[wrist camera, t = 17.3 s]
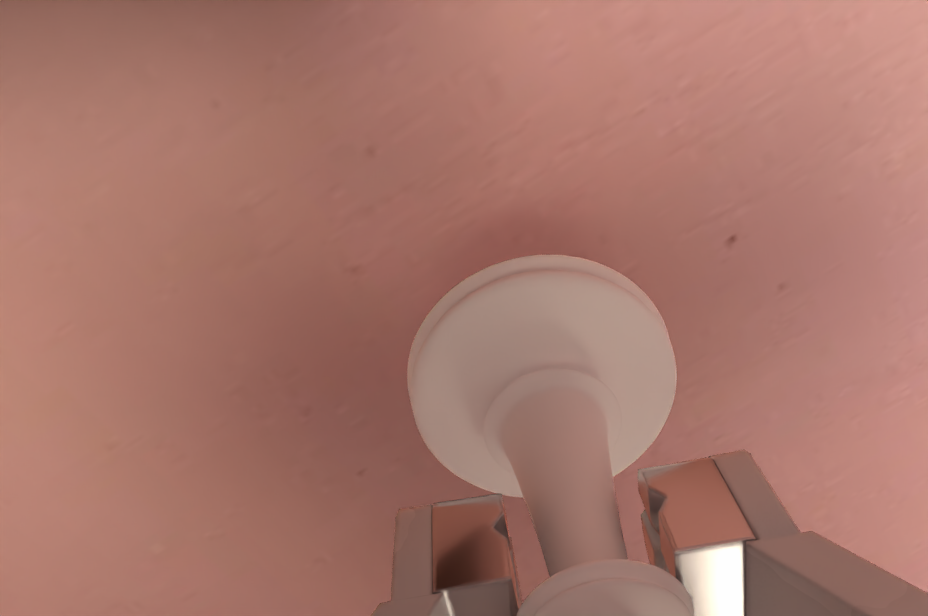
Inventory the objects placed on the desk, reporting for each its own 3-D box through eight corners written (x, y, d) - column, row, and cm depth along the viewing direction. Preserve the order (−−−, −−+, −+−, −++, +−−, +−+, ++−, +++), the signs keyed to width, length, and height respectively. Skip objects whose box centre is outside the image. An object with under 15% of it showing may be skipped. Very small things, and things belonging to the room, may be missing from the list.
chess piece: (380, 280, 12) (259, 1142, 4) (663, 229, 12) (1298, 1003, 3) (435, 495, 15) (445, 1353, 6) (675, 455, 14) (1071, 1279, 6)
